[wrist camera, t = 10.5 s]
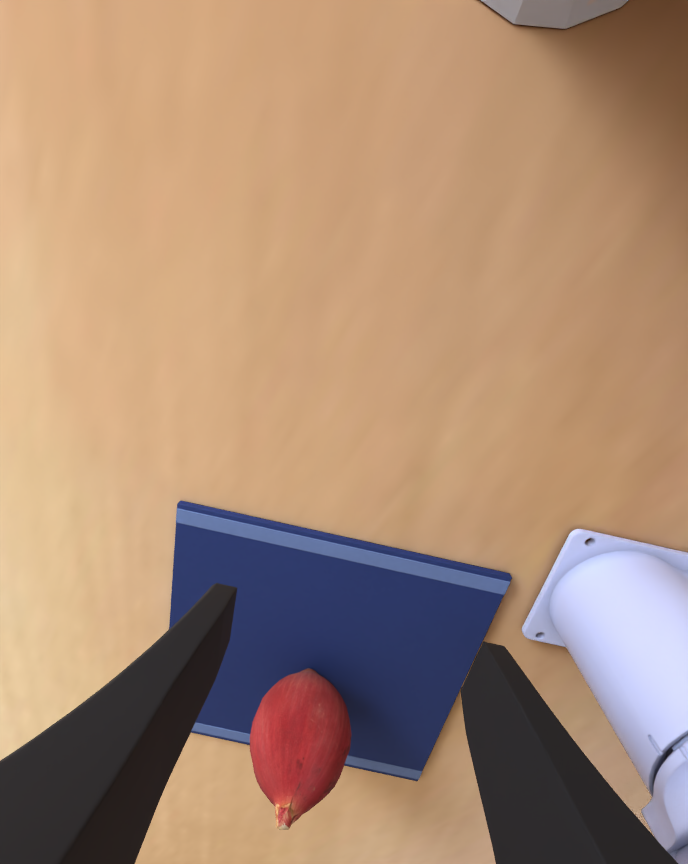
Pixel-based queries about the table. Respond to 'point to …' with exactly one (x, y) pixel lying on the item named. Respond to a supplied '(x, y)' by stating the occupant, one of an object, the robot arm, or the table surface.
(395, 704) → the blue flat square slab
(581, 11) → the french press
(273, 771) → the onion
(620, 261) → the table surface
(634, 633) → the robot arm
